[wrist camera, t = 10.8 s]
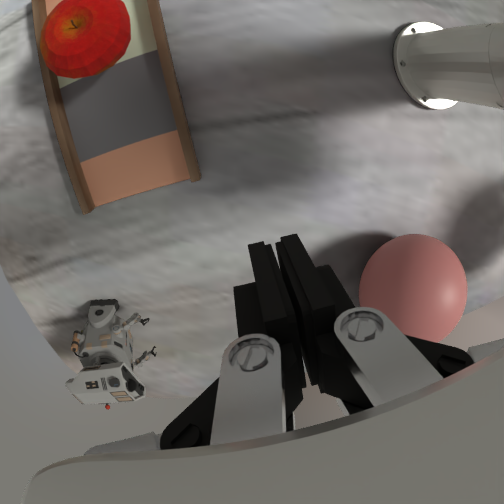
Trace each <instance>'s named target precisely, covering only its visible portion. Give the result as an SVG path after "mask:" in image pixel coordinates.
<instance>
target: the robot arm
mask: <svg viewBox="0 0 504 504" xmlns="http://www.w3.org/2000/svg"><path fill="white" fill-rule="evenodd" d="M393 58H394V66H395V69H396V73H397V76H398V78H399V80H400V82H401V84H402V86H403V87H404V89H405V91H406V92H407V93H408V94H409V95H410V97H411V98H413V99H414V100H415V101H416V102H417V103H419V104H421V105H422V106H424V107H427V108H430V109H436V110H443V109H447V108H450V107H451V106H453V105H455V104H456V103H457V102H458V101H460V102H466V103H472V104H478V105H483V106H488V107H493V108H498V109H503V110H504V23H491V24H479V25H469V26H461V27H453V28H446V29H442V28H441V27H439V26H437V25H435V24H433V23H429V22H416V23H412V24H410V25H407V26H406V27H405V28H403V29H402V30H401V32H400V33H399V34H398V36H397V38H396V41H395V45H394V54H393ZM400 64H401V65H400ZM275 244H276V250H277V255H278V260H279V266H280V269H279V266H278V263H277V260H276V257H275V255H274V252H273V249H272V246H271V244H268V245H265V244H264V241H262V242H258V243H254V244H249V245H248V249H249V253H250V258H251V263H252V267H253V272H254V277H255V282H253V283H248V284H244V285H240V286H235V287H234V299H235V309H236V318H237V328H238V337H239V338H238V339H236V340H234V341H233V342H232V343H230V344H229V345H228V347H227V348H226V349H225V351H224V354H223V357H222V363H221V370H220V377H219V378H218V379H217V380H215V381H214V382H213V383H212V384H211V385H210V386H209V387H208V388H207V389H206V390H205V391H204V392H203V393H202V394H201V395H200V396H199V397H198V398H197V399H196V400H195V401H194V402H193V403H192V404H190V405H189V406H188V407H187V408H186V409H185V410H184V411H183V412H182V413H181V414H180V415H179V416H178V417H177V418H176V419H174V420H173V421H172V422H171V423H170V424H169V425H168V426H167V427H166V429H165V430H164V431H163V433H161V434H157V435H156V434H155V433H154V432H151V433H147V434H144V435H139V436H136V437H132V438H128V439H124V440H120V441H115V442H111V443H106V444H102V445H97V446H94V447H92V448H90V449H89V450H88V451H86V452H85V454H84V455H83V456H78V457H73V458H68V459H65V460H62V461H59V462H56V463H53V464H51V465H49V466H47V467H45V468H43V469H41V470H39V471H38V472H37V473H36V474H35V475H33V476H32V478H31V479H30V481H29V482H28V485H27V486H26V488H25V491H24V493H23V496H22V499H21V503H20V504H504V339H500V340H496V341H493V342H489V343H485V344H481V345H477V346H473V347H469V349H468V351H467V352H465V351H463V350H461V349H459V348H456V347H452V346H448V345H444V344H440V343H436V342H432V341H428V340H424V339H420V338H416V337H412V336H408V335H405V334H403V333H402V332H401V331H400V330H399V329H398V328H397V327H396V326H395V325H394V323H393V322H392V321H391V320H390V319H389V318H388V317H387V316H386V315H385V314H384V313H382V312H381V311H379V310H377V309H374V308H370V307H356V308H355V306H354V304H353V303H352V301H351V299H350V298H349V296H348V294H347V293H346V291H345V289H344V288H343V286H342V285H341V283H340V281H339V280H338V278H337V276H336V275H335V273H334V272H333V270H332V268H331V267H330V266H329V265H323V266H319V267H315V266H314V264H313V262H312V260H311V259H310V257H309V255H308V253H307V251H306V250H305V248H304V246H303V244H302V242H301V241H300V239H299V237H298V235H297V234H292V235H288V236H284V237H281V242H277V243H275ZM302 357H303V359H302ZM303 360H304V363H305V366H306V370H307V373H308V376H309V379H310V382H311V385H312V386H313V385H317V384H318V386H319V389H320V392H321V393H326V394H329V395H331V396H334V397H336V401H337V403H338V406H339V407H340V409H341V411H342V412H343V414H344V416H345V417H342V418H339V419H336V420H332V421H328V422H325V423H321V424H317V425H314V426H310V427H306V428H302V429H298V430H295V416H294V410H295V409H296V408H297V406H298V405H299V404H300V402H301V401H302V400H303V394H302V388H306V379H305V372H304V366H303Z"/></svg>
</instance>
